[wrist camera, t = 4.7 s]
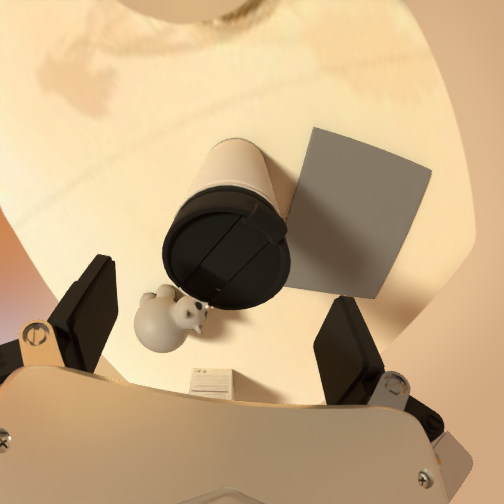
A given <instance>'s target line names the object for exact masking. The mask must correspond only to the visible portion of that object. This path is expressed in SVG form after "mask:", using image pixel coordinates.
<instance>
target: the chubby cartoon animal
mask: <svg viewBox="0 0 504 504" xmlns="http://www.w3.org/2000/svg"><path fill="white" fill-rule="evenodd" d="M174 298H175V290H174V288H173V287H171V286H169V285H161V286H160V287H159V288H158V290H157V293H156V295H154V294H152V293H145V294H143V296H142V297H141V300H140V308H139V309H138V311H137V313H136V315H135V319H134V329H135V333H136V336H137V338H138V339H139V341H140V342H141V343H142V344H143V345H144V346H145V347H146V348H148V349H149V350H151V351H154V352H158V353H168V352H171V351H174V350H176V349H177V348H179V347H180V346H181V345H182V344H183V343H184V341H185V340H186V338H187V335H188V331H189V329H195V330H196V331H197V332H198V333H199V334H202V326H203V324H204V323H205V322H206V319H207V313H208V311H209V310H210V309H211V308H212V309H213V308H214V307H211V306H208V303H206V302H201V301H199V300H197V299H195V298H193V297H191V296H190V295H189V296H184V297H182V298H180V299H179V300H178V302H175V301H174Z"/></svg>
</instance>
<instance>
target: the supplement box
mask: <svg viewBox="0 0 504 504" xmlns="http://www.w3.org/2000/svg"><path fill="white" fill-rule="evenodd" d="M189 395H195V396H202V397H209V398H217V399H226V400H234V386H233V375H232V369H199V368H193V369H192V372H191V380H190V388H189Z"/></svg>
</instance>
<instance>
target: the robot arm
mask: <svg viewBox="0 0 504 504" xmlns="http://www.w3.org/2000/svg"><path fill="white" fill-rule="evenodd" d="M117 316H118V300H117V287H116V269H115V261H112V259H111V257H110V256H106V255H101V254H98V255H96V257H95V258H94V259H93V261H92V262H91V263H90V265H89V266H88V267H87V269H86V270H85V271H84V273H83V274H82V275H81V277H80V278H79V279H78V281H75V282H74V283H73V284H72V285H71V286H70V288H69V289H68V291H67V292H66V293H65V295H64V296H63V298H62V299H61V301H60V302H59V304H58V305H57V307H56V308H55V310H54V311H53V313H52V314H51V316H50V317H49V319H48V320H47V322H46V321H44V320H39V319H37V320H32V321H29V322H27V323H26V324H24V325H23V327H22V328H21V330H20V332H19V339H17V340H14V341H11V342H8V343H5V344H2V345H0V504H449V502H450V501H451V499H452V498H453V497H454V495H455V494H456V492H457V491H458V490H459V488H460V487H461V485H462V483H463V482H464V481H465V479H466V477H467V476H468V474H469V473H470V471H471V469H472V466H473V460H472V457H471V456H470V454H469V453H468V452H467V451H466V450H465V449H464V448H463V446H461V444H460V443H459V442H458V441H457V440H456V439H455V438H454V437H453V436H452V435H451V434H450V433H449V432H448V431H447V432H446V433H445V432H444V422H443V420H442V418H441V417H440V415H439V414H438V413H436V412H435V411H433V410H432V409H430V408H429V407H427V406H425V405H424V404H423V403H421V402H419V401H418V400H416V399H415V398H413V397H412V396H410V395H409V394H410V385H409V383H408V381H407V379H406V378H405V377H404V376H403V375H401V374H400V373H397V372H394V371H387V372H385V370H384V367H385V366H384V364H383V361H382V359H381V357H380V354H379V352H378V350H377V347H376V345H375V343H374V341H373V338H372V336H371V334H370V332H369V329H368V327H367V325H366V323H365V321H364V319H363V316H362V314H361V312H360V310H359V308H358V306H357V304H356V302H355V299H354V298H353V297H349V296H339V298H336V299H335V300H334V302H333V304H332V306H331V308H330V310H329V312H328V314H327V316H326V318H325V321H324V323H323V325H322V327H321V329H320V331H319V333H318V335H317V337H316V339H315V341H314V345H313V348H314V353H315V357H316V361H317V365H318V369H319V373H320V378H321V382H322V386H323V390H324V395H325V399H326V403H327V405H292V404H271V403H257V402H245V401H235V400H226V399H217V398H209V397H202V396H195V395H189V394H183V393H177V392H171V391H166V390H161V389H156V388H151V387H146V386H141V385H137V384H133V383H128V382H124V381H120V380H116V379H112V378H108V377H104V376H99V375H96V374H93V373H94V371H95V368H96V366H97V363H98V361H99V358H100V356H101V353H102V351H103V349H104V346H105V344H106V342H107V339H108V337H109V335H110V332H111V330H112V328H113V326H114V324H115V321H116V319H117Z"/></svg>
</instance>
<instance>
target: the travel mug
mask: <svg viewBox="0 0 504 504" xmlns="http://www.w3.org/2000/svg"><path fill="white" fill-rule="evenodd" d="M287 231H288V229H287V225H286V223H285V222H284V220H283V219H282V218H281V214H280V211H279V207H278V204H277V200H276V197H275V194H274V190H273V187H272V184H271V180H270V177H269V174H268V170H267V167H266V164H265V160H264V157H263V155H262V153H261V151H260V150H259V148H258V147H257V146H255V145H254V144H253V143H251V142H250V141H248V140H245V139H241V138H231V139H226V140H224V141H221V142H220V143H218V144H217V145H216V146H215V147H214V148H213V149H212V150H211V152H210V153H209V155H208V157H207V158H206V160H205V162H204V164H203V165H202V167H201V169H200V171H199V172H198V174H197V176H196V178H195V179H194V181H193V183H192V185H191V187H190V189H189V190H188V192H187V194H186V196H185V198H184V200H183V201H182V203H181V205H180V207H179V209H178V211H177V213H176V215H175V218H174V221H173V223H172V225H171V227H170V229H169V231H168V233H167V235H166V237H165V240H164V244H163V247H162V259H163V264H164V268H165V270H166V273H167V275H168V277H169V278H170V279H171V280H172V281H173V282H174V283H175V285H176V286H177V287H178V288H179V287H181V289H182V290H183V291H184V292H186V293H187V294H188V295H190V296H191V297H193V298H195V299H197V300H199V301H201V302H206V303H208V306H211V307H215V308H218V309H222V310H241V309H247V308H251V307H255V306H258V305H260V304H262V303H265V302H266V301H268V300H269V299H271V298H273V297H274V296H275V295H276V294H277V293H278V292H279V291H280V290H281V289H282V287H283V286H284V284H285V283H286V281H287V279H288V276H289V273H290V267H291V258H290V251H289V247H288V244H287V240H286V236H285V235H286V233H287Z"/></svg>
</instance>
